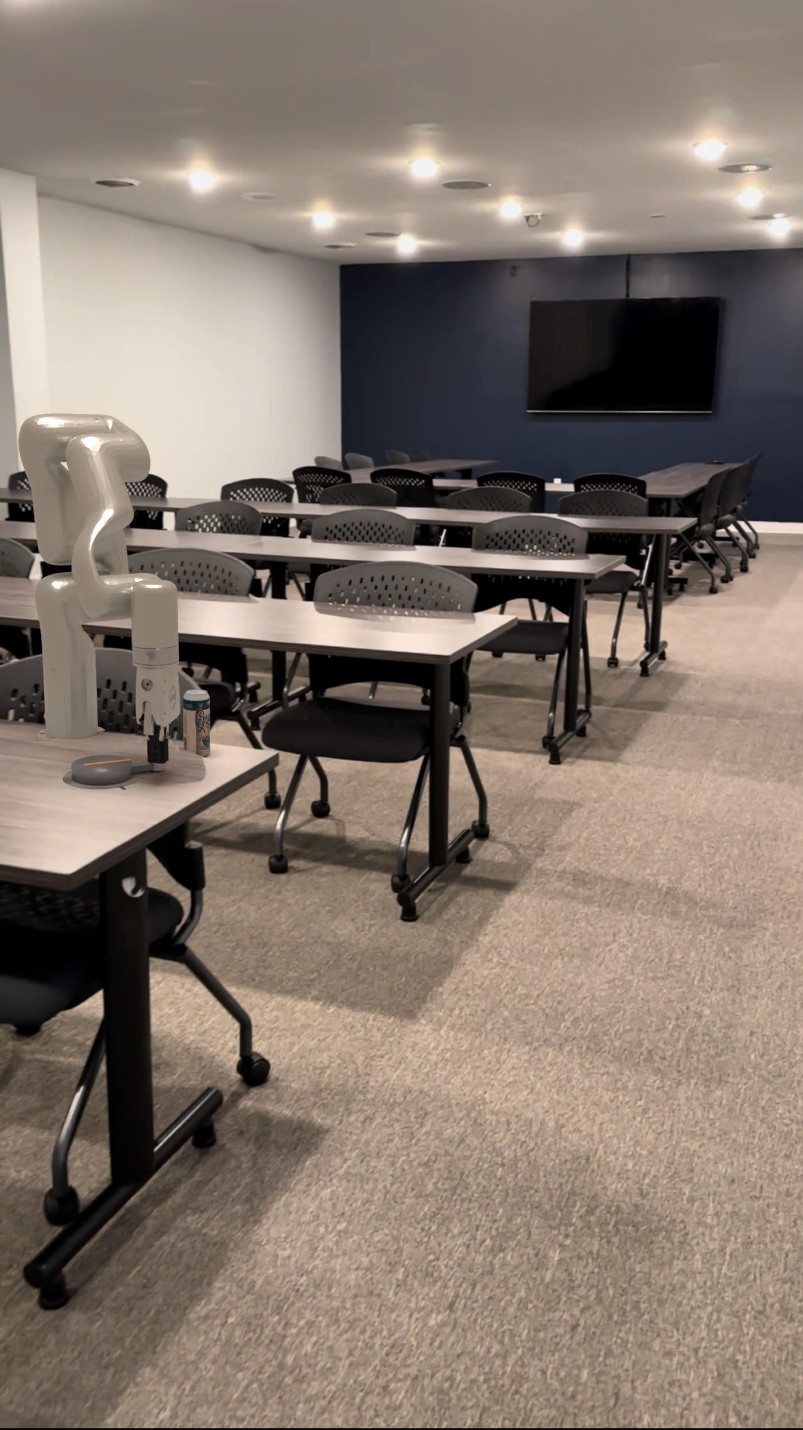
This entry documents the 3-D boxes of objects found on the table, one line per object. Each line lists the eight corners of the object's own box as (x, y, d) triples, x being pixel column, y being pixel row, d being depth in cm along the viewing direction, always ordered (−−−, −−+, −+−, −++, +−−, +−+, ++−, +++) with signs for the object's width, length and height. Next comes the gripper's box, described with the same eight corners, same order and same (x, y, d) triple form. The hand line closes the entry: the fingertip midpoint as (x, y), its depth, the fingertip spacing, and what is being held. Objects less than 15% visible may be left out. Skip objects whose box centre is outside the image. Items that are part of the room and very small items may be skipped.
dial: (80, 787, 199) (78, 746, 197) (65, 770, 207) (64, 730, 205) (173, 776, 206) (172, 736, 204) (155, 760, 215) (154, 721, 213)
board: (37, 776, 209) (37, 769, 208) (127, 760, 219) (127, 753, 219) (91, 808, 194) (91, 800, 194) (185, 789, 205) (184, 781, 204)
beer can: (204, 760, 221) (204, 696, 218) (179, 757, 222) (179, 693, 219) (213, 752, 226) (213, 689, 223) (189, 750, 227) (188, 687, 224)
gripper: (163, 665, 193) (166, 776, 198) (190, 647, 208) (192, 751, 212) (118, 663, 194) (121, 773, 198) (147, 645, 208) (150, 748, 213)
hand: (158, 761), depth 205 cm, fingers closed
